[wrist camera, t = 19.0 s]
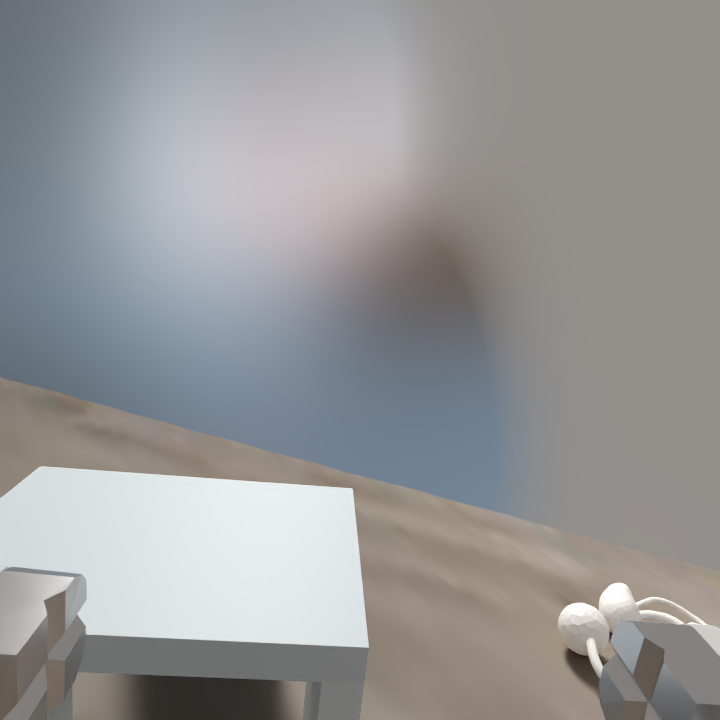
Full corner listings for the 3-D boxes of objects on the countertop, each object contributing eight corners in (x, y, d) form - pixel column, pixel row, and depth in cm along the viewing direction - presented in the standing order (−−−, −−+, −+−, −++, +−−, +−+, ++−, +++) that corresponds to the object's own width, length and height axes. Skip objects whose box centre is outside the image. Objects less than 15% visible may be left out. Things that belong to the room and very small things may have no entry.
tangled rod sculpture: (896, 776, 36) (920, 726, 36) (849, 900, 28) (880, 837, 27) (623, 601, 51) (636, 563, 50) (536, 645, 42) (549, 600, 42)
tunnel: (324, 985, 22) (368, 647, 18) (-112, 988, 21) (-156, 623, 17) (325, 726, 34) (352, 488, 30) (47, 717, 32) (40, 466, 29)
